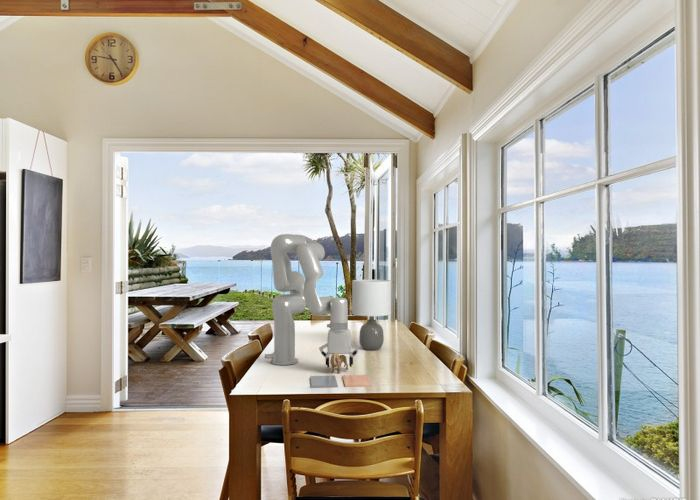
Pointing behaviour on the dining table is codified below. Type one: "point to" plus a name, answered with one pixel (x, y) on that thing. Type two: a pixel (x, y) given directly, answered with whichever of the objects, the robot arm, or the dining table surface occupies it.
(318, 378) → the slate tile
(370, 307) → the lamp
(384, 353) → the dining table surface
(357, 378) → the terracotta tile
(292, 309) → the robot arm
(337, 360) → the lion figurine
